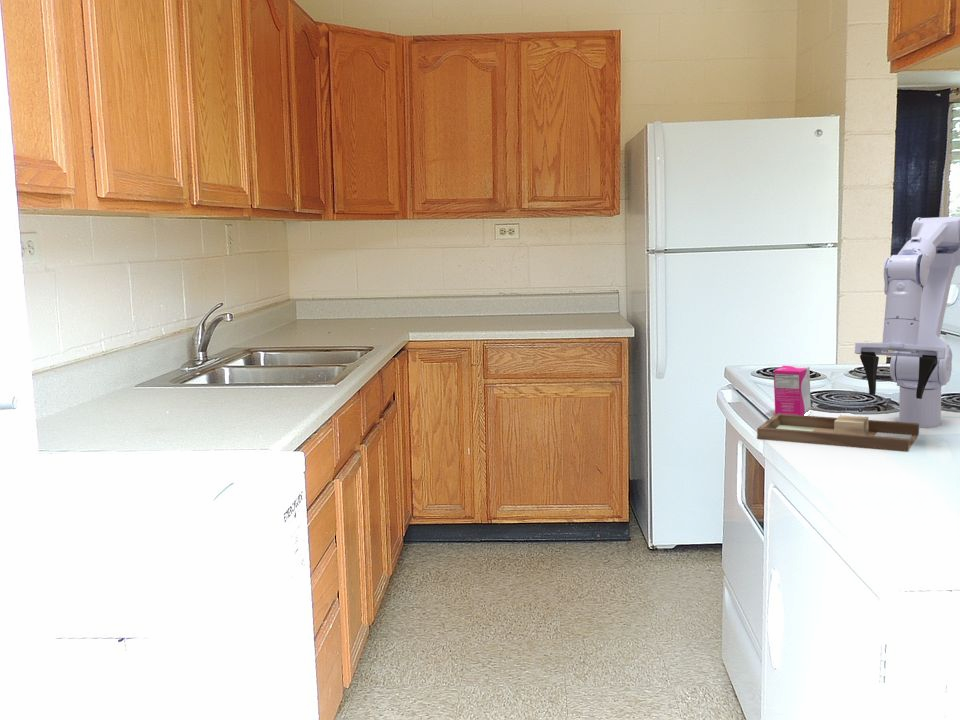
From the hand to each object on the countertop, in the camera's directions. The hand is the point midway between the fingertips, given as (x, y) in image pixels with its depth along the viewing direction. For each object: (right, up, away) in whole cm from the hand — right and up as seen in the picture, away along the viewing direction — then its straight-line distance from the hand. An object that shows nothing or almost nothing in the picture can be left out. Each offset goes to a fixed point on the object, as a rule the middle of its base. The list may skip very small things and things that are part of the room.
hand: (895, 396), depth 158 cm
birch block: (-5, -8, +7) cm, 12 cm away
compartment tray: (-7, -9, +8) cm, 14 cm away
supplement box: (-9, -7, +27) cm, 30 cm away
